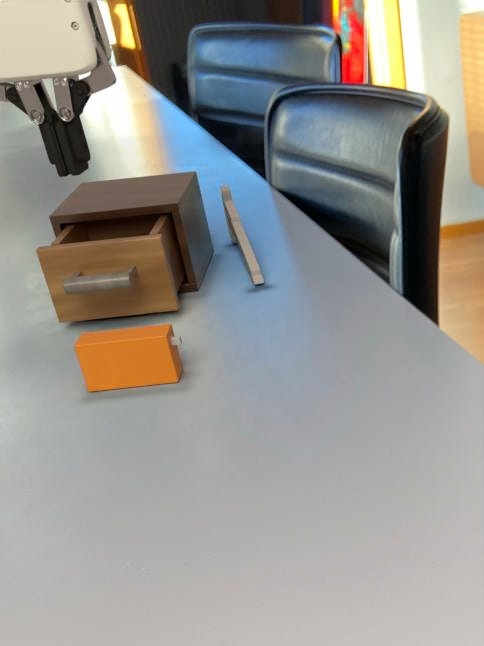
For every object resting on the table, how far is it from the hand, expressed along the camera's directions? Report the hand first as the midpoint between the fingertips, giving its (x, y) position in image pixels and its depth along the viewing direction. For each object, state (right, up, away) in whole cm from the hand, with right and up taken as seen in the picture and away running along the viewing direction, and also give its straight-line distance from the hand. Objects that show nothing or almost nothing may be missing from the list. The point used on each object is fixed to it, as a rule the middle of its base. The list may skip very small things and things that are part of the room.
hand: (74, 172), depth 85 cm
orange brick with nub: (+5, -17, +1) cm, 18 cm away
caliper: (+8, +3, +28) cm, 29 cm away
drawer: (-1, -5, +16) cm, 17 cm away
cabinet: (-2, +1, +26) cm, 26 cm away
